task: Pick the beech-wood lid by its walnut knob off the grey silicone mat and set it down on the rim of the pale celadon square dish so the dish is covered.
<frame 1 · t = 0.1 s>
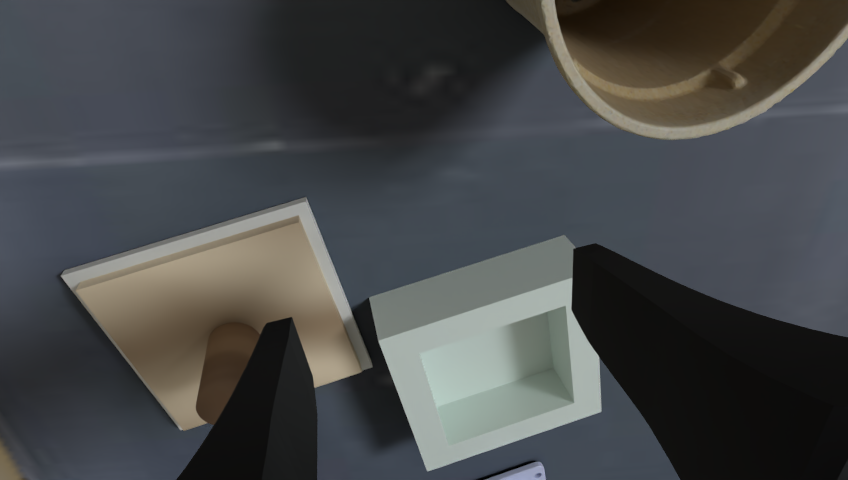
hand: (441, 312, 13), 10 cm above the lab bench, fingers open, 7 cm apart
mat: (237, 321, 24), on the lab bench
lid: (237, 327, 24), resting on mat
dish: (481, 334, 28), on the lab bench
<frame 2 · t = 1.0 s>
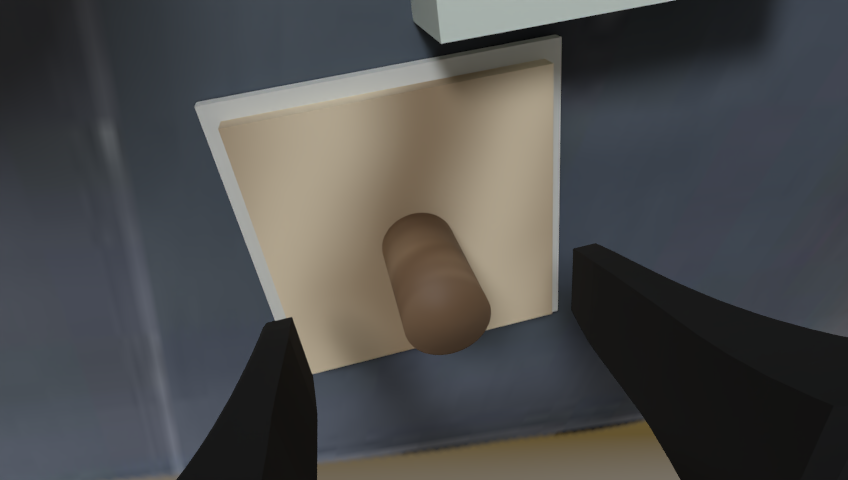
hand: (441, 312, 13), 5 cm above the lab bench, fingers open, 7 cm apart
mat: (409, 222, 17), on the lab bench
lid: (411, 228, 17), resting on mat
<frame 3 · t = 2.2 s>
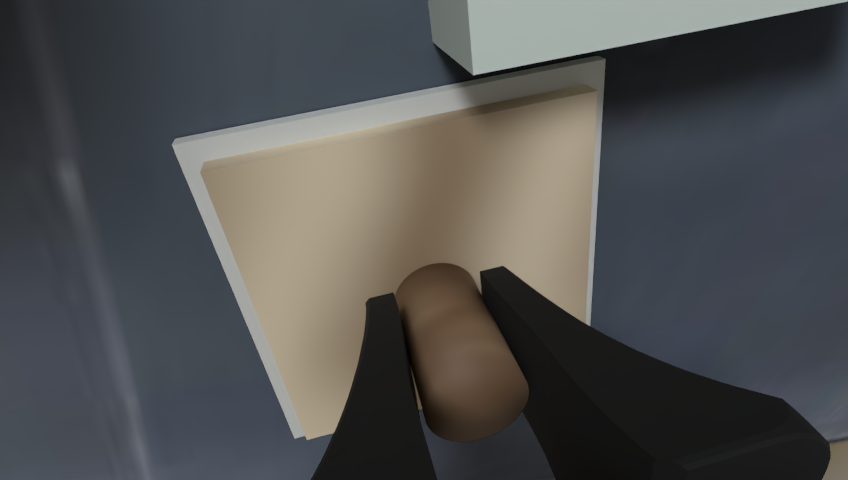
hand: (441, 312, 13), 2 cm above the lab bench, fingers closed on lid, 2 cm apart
mat: (424, 268, 15), on the lab bench
lid: (427, 276, 14), resting on mat, touching gripper
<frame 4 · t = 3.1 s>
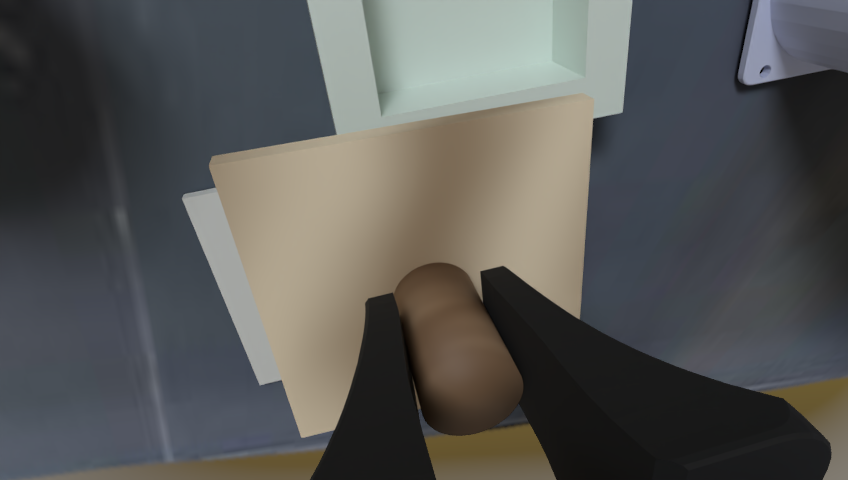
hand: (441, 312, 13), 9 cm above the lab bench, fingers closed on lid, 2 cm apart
mat: (342, 271, 23), on the lab bench
lid: (425, 277, 15), point 7 cm above the lab bench, touching gripper
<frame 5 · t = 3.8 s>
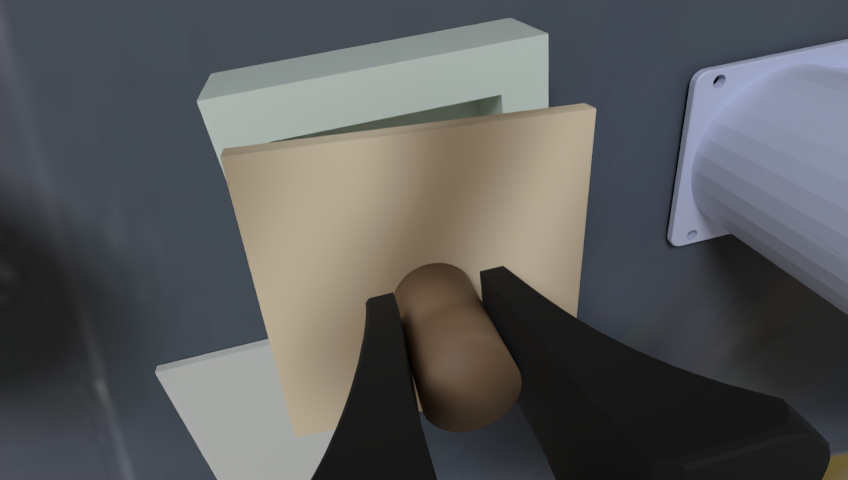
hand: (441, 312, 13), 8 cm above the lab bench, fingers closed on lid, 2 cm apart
mat: (306, 413, 25), on the lab bench
lid: (425, 278, 15), point 6 cm above the lab bench, touching gripper
dish: (389, 177, 20), on the lab bench
when the fingers open (6 cm above the lab bench, at t = 4.3 s): lid drops 1 cm, resting on dish.
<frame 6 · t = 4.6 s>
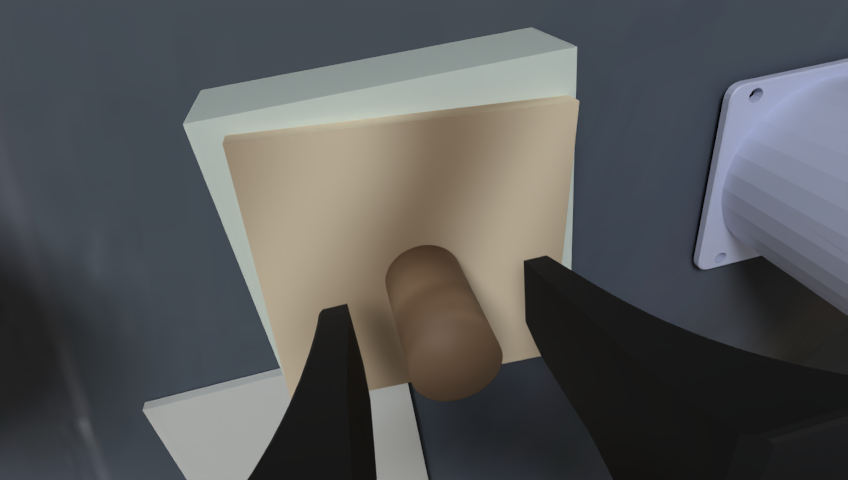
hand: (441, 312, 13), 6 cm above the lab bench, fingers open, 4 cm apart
mat: (306, 447, 23), on the lab bench
lid: (416, 259, 16), point 3 cm above the lab bench, touching dish
dish: (397, 199, 18), on the lab bench, touching lid
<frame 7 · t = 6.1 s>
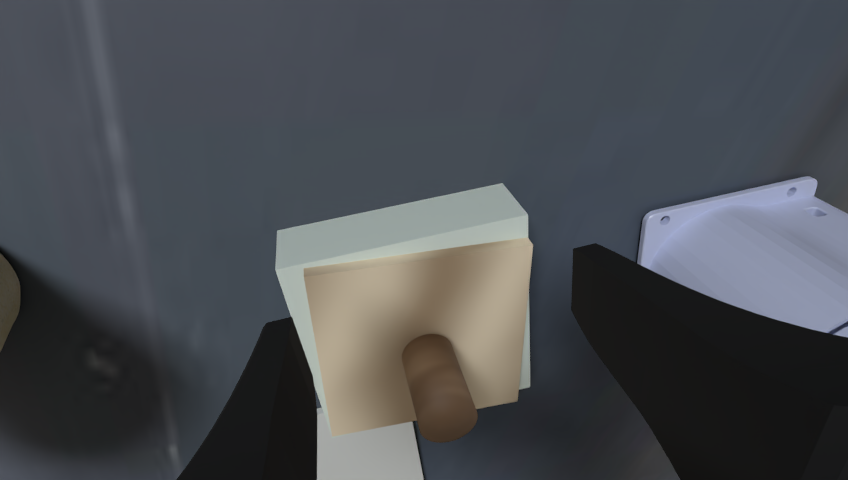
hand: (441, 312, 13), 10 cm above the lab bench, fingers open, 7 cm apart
mat: (333, 466, 30), on the lab bench
lid: (422, 338, 23), point 3 cm above the lab bench, touching dish
dish: (406, 291, 26), on the lab bench, touching lid
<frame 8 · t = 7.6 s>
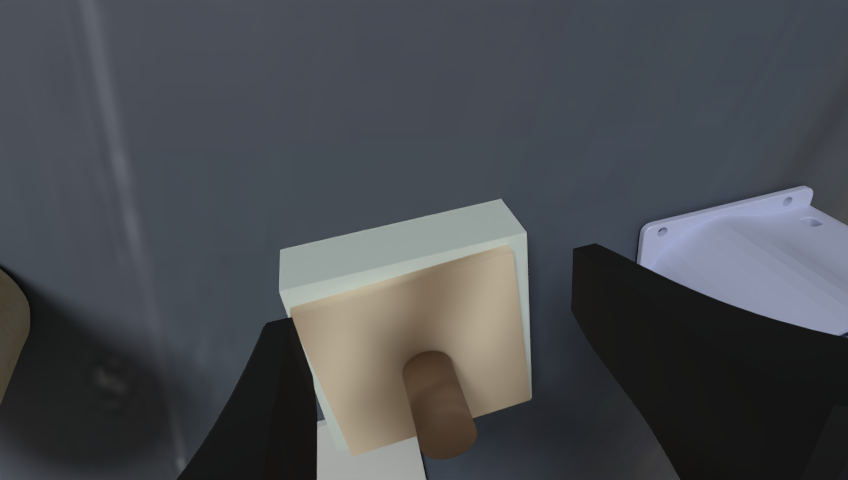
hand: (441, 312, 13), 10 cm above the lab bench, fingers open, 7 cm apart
mat: (338, 475, 31), on the lab bench
lid: (422, 354, 23), point 3 cm above the lab bench
dish: (408, 305, 26), on the lab bench
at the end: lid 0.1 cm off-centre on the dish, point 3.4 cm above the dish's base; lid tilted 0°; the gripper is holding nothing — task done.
